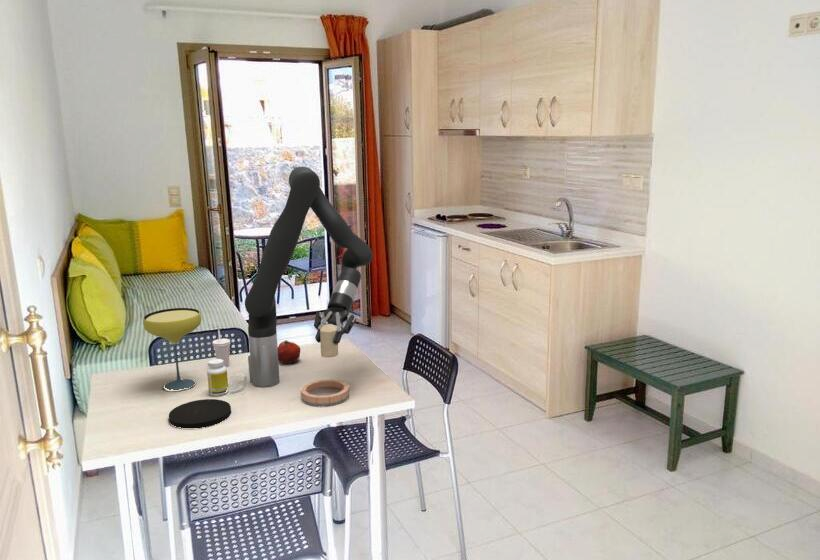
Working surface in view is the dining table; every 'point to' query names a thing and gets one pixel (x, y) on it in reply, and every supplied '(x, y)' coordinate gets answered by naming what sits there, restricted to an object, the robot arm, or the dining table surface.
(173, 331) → the cocktail glass
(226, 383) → the pill bottle
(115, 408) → the dining table surface
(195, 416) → the wireless charger
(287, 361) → the tomato
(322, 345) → the candle
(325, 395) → the dish
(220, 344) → the smoothie
